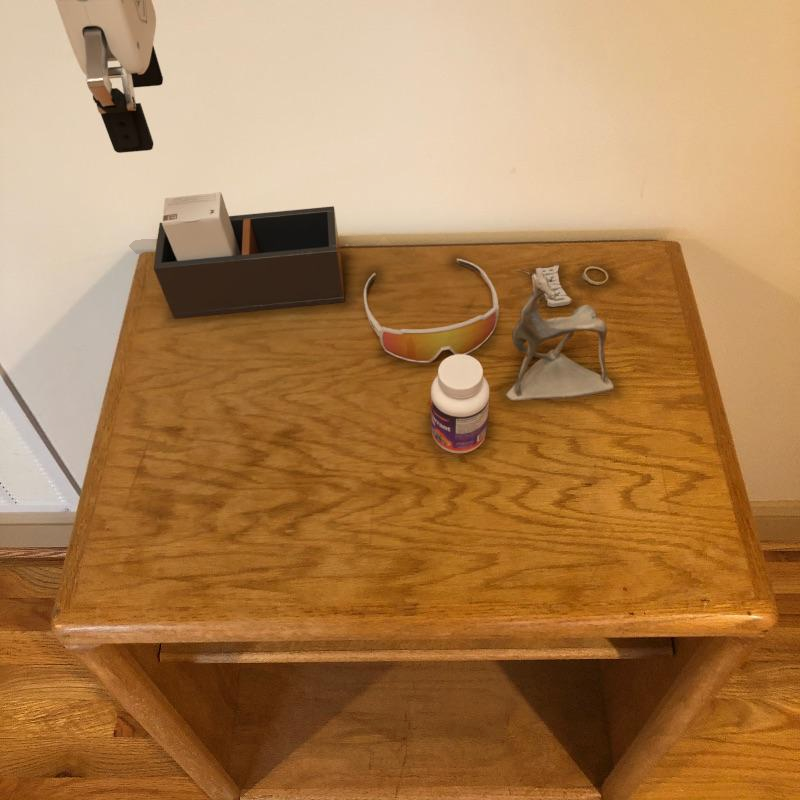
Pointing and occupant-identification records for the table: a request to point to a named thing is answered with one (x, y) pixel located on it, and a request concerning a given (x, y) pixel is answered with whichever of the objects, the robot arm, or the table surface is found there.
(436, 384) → the pill bottle
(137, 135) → the robot arm
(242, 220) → the caddy
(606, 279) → the ring
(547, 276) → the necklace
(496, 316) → the sunglasses
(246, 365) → the table surface
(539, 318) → the figurine
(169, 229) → the cosmetic box
